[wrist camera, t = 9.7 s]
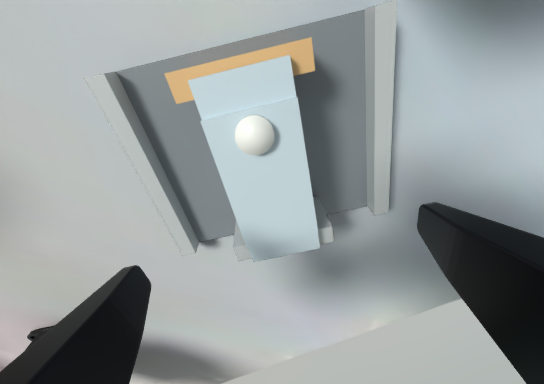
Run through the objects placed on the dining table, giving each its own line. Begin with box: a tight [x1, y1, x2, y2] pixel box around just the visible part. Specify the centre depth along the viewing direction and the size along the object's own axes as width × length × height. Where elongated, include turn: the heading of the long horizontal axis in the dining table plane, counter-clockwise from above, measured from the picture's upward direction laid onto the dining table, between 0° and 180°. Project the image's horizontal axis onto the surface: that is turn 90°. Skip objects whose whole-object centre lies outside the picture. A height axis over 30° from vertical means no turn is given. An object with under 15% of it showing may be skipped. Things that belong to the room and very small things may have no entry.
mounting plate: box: [84, 0, 397, 261], centre depth 14 cm, size 12×15×4 cm
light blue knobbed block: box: [188, 55, 320, 262], centre depth 13 cm, size 10×4×5 cm, turn 12°
